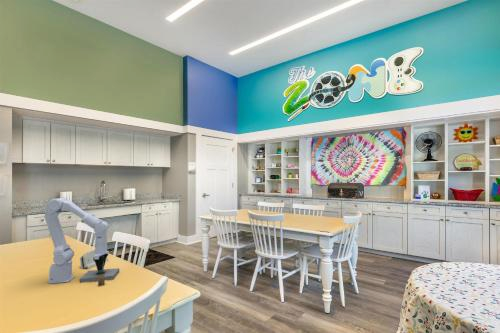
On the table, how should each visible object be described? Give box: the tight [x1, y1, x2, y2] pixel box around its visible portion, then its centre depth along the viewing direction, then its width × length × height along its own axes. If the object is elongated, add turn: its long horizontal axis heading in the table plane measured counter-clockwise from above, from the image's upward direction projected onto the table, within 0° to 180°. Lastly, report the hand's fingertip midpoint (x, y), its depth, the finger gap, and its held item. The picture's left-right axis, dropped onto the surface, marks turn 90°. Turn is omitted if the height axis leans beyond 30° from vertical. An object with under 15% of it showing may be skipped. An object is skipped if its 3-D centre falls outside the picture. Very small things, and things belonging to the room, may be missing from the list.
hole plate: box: [79, 267, 120, 284], centre depth 142 cm, size 16×12×2 cm
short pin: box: [97, 275, 106, 287], centre depth 131 cm, size 3×3×4 cm
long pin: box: [98, 256, 105, 275], centre depth 142 cm, size 3×3×10 cm
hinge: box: [79, 249, 109, 270], centre depth 162 cm, size 17×5×10 cm, turn 168°
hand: (100, 268), depth 142 cm, fingers closed on long pin, 3 cm apart
